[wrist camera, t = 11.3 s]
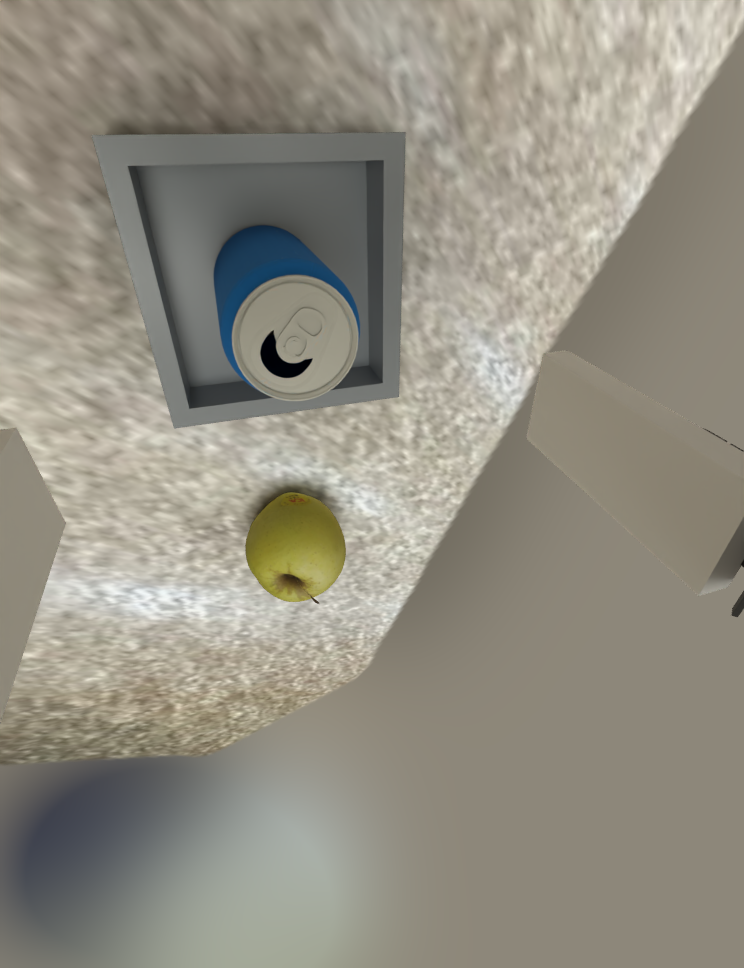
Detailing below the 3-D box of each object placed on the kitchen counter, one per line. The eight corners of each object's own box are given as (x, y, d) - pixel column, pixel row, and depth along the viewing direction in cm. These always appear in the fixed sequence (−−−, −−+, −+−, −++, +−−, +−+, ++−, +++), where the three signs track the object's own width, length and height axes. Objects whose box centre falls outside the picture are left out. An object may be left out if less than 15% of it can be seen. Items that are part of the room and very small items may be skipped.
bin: (104, 135, 25) (91, 135, 22) (382, 133, 29) (405, 132, 25) (176, 402, 34) (174, 428, 31) (381, 375, 37) (399, 396, 34)
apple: (347, 474, 40) (369, 581, 35) (323, 528, 46) (339, 627, 40) (250, 468, 38) (257, 584, 32) (238, 526, 43) (242, 633, 37)
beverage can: (192, 290, 30) (190, 359, 20) (251, 197, 28) (280, 227, 19) (278, 350, 33) (311, 432, 24) (336, 271, 32) (395, 327, 22)
